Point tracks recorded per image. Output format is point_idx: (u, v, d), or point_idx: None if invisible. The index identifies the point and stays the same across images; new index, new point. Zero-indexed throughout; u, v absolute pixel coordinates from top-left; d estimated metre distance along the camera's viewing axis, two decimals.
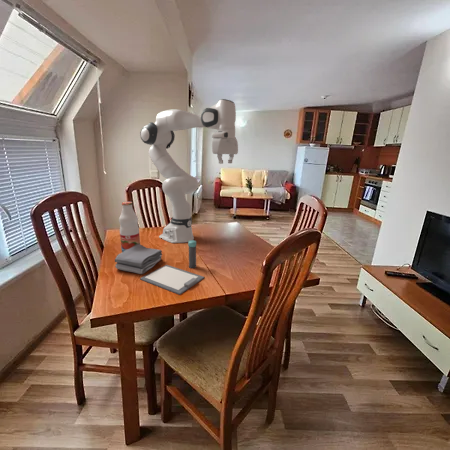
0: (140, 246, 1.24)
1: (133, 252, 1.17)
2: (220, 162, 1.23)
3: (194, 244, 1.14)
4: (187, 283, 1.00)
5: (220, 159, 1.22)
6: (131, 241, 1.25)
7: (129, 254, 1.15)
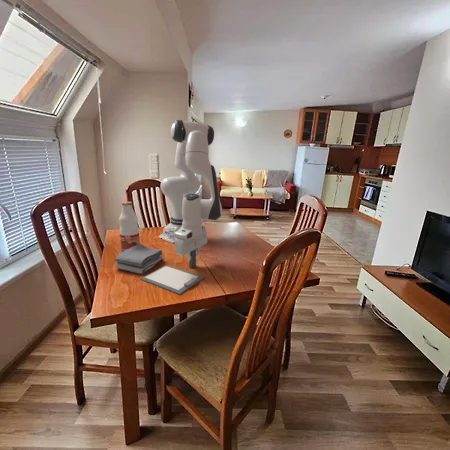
0: (141, 246, 1.25)
1: (133, 252, 1.18)
2: (188, 259, 1.14)
3: None
4: (187, 283, 1.00)
5: (188, 256, 1.14)
6: (131, 241, 1.25)
7: (129, 254, 1.16)
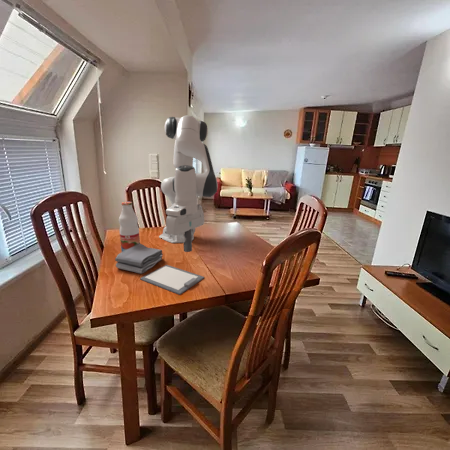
0: (141, 246, 1.25)
1: (134, 251, 1.18)
2: (182, 240, 1.00)
3: (189, 223, 1.00)
4: (187, 283, 1.00)
5: (182, 237, 0.99)
6: (131, 241, 1.25)
7: (129, 253, 1.16)
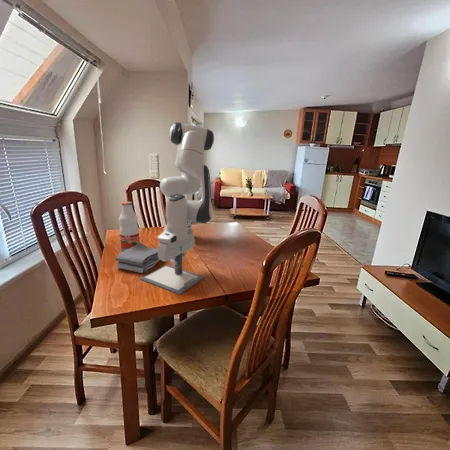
0: (141, 245, 1.25)
1: (134, 251, 1.18)
2: (173, 264, 1.06)
3: (180, 248, 1.05)
4: (187, 283, 1.00)
5: (173, 261, 1.05)
6: (131, 241, 1.25)
7: (130, 253, 1.16)
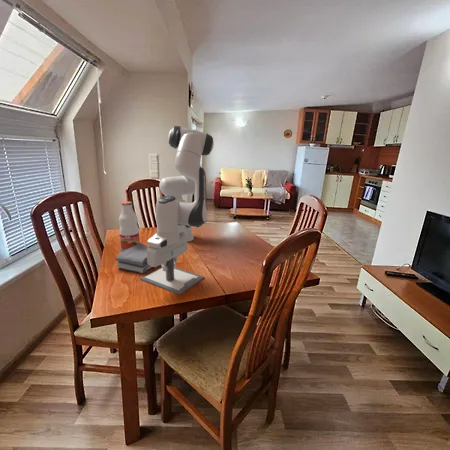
0: (142, 245, 1.25)
1: (134, 251, 1.18)
2: (164, 270, 1.00)
3: (171, 253, 1.00)
4: (187, 283, 1.00)
5: (164, 267, 1.00)
6: (131, 241, 1.25)
7: (130, 253, 1.16)
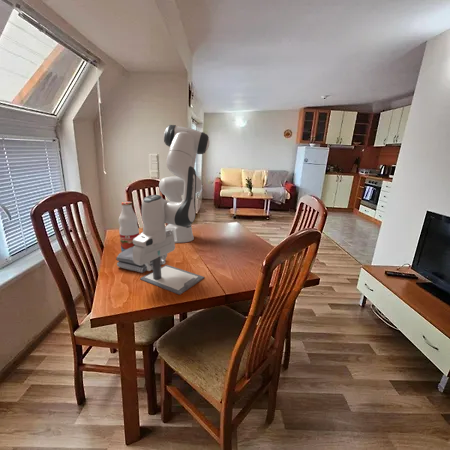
0: None
1: None
2: (148, 269, 1.00)
3: None
4: (187, 283, 1.00)
5: (148, 266, 1.00)
6: (131, 241, 1.25)
7: (130, 253, 1.17)
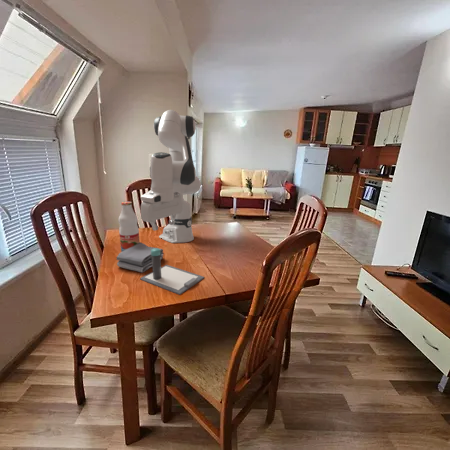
0: (142, 245, 1.26)
1: (135, 250, 1.19)
2: (154, 229, 0.99)
3: (157, 253, 1.01)
4: (187, 283, 1.00)
5: (153, 225, 0.99)
6: (131, 241, 1.25)
7: (131, 252, 1.17)
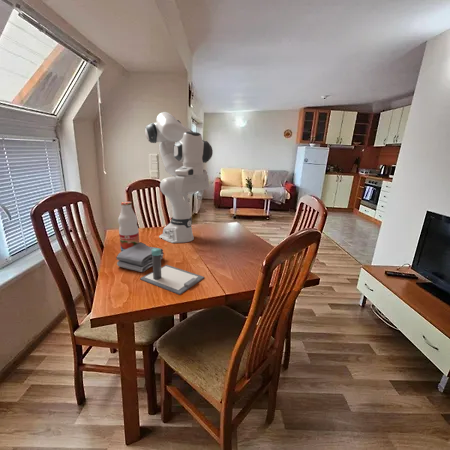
0: (142, 245, 1.26)
1: (135, 250, 1.19)
2: (186, 201, 1.09)
3: (158, 253, 1.01)
4: (187, 283, 1.00)
5: (186, 198, 1.09)
6: (130, 241, 1.25)
7: (131, 252, 1.17)
